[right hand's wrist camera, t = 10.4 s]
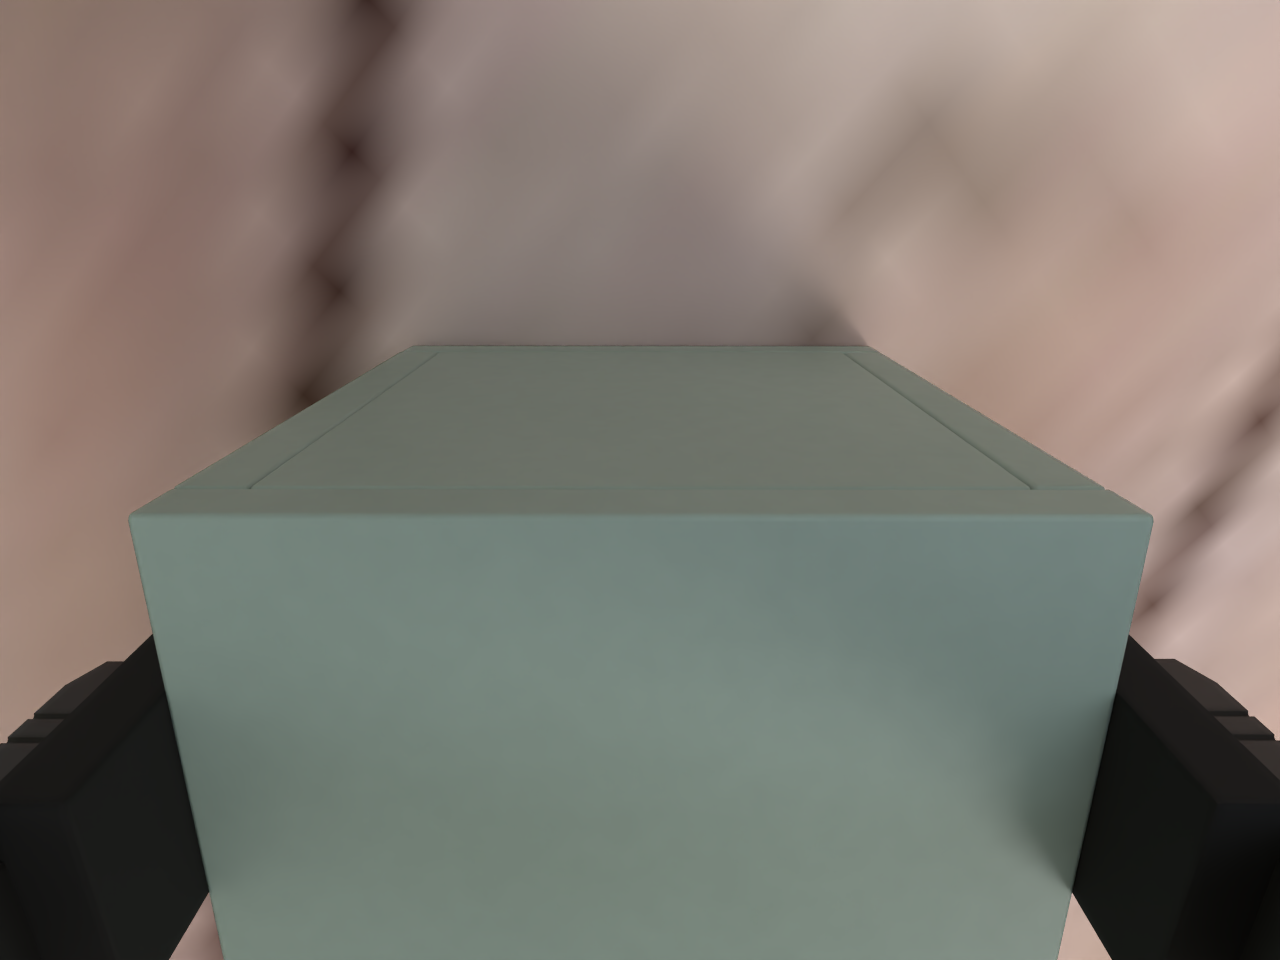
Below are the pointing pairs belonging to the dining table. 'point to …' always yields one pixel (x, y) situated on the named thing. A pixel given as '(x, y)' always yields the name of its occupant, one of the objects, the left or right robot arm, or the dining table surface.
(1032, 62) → the dining table surface
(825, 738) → the grey-green rectangular block
